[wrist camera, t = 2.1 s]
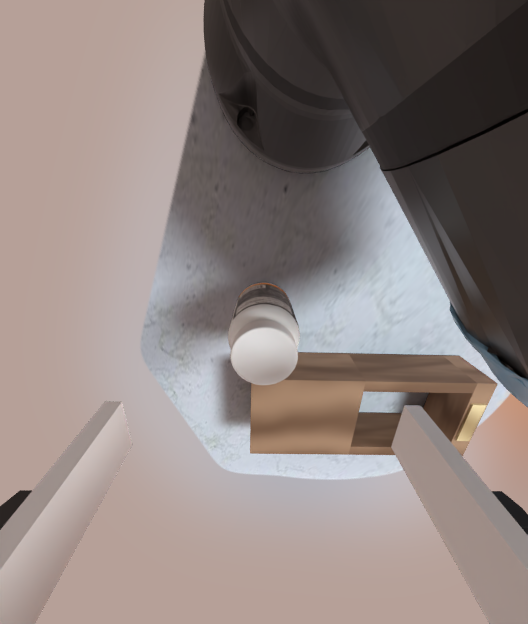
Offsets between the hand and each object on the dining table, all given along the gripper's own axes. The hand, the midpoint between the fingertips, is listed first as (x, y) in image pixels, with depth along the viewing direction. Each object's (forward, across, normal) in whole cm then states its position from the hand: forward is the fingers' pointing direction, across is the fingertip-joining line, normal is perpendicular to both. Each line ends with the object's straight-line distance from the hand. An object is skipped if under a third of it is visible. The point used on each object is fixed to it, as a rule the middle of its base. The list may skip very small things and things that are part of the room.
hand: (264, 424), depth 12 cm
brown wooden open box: (+15, +11, -10) cm, 22 cm away
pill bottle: (+16, 0, 0) cm, 16 cm away
